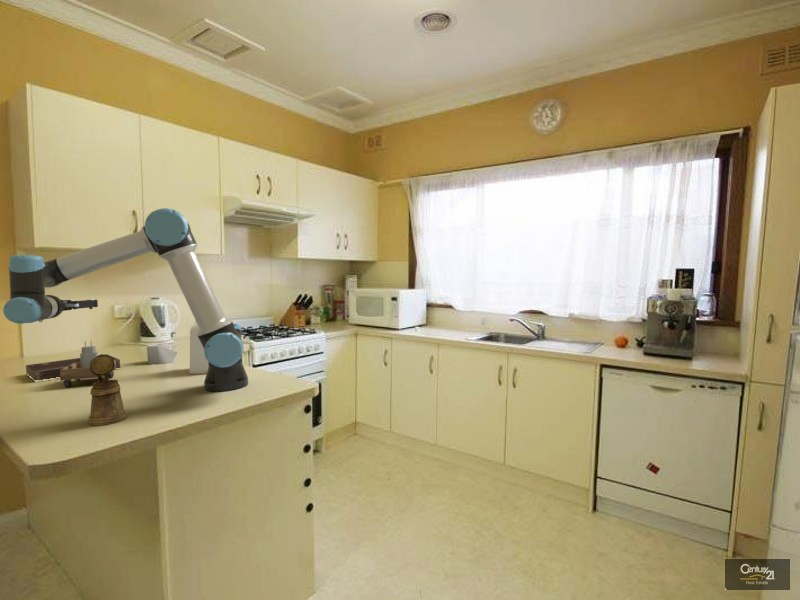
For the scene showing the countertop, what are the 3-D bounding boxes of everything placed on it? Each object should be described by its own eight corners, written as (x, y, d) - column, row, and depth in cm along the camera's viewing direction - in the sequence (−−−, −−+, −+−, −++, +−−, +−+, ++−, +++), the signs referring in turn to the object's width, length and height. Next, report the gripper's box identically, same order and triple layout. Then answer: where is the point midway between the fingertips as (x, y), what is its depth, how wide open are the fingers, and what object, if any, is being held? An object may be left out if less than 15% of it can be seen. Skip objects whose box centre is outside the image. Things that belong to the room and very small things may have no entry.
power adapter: (81, 371, 163) (79, 340, 162) (98, 369, 166) (96, 339, 165) (81, 372, 160) (79, 341, 159) (98, 370, 163) (96, 340, 163)
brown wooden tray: (35, 383, 164) (34, 371, 164) (26, 376, 176) (25, 365, 176) (120, 369, 187) (119, 358, 186) (107, 364, 199) (106, 354, 198)
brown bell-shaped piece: (122, 409, 129) (119, 351, 128) (128, 420, 119) (124, 358, 118) (87, 415, 123) (83, 356, 122) (90, 428, 113) (85, 363, 112)
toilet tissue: (175, 363, 197) (174, 345, 196) (144, 365, 194) (143, 346, 193) (181, 359, 205) (180, 342, 205) (151, 361, 202) (150, 343, 202)
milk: (230, 367, 186) (227, 309, 184) (216, 373, 174) (213, 311, 173) (205, 367, 187) (202, 309, 185) (189, 373, 175) (186, 312, 174)
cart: (105, 384, 159) (104, 366, 159) (61, 388, 154) (59, 370, 154) (116, 376, 172) (115, 359, 172) (76, 379, 167) (74, 362, 167)
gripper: (-6, 321, 125) (29, 315, 145) (92, 317, 134) (113, 311, 154) (-8, 296, 125) (27, 293, 145) (91, 293, 133) (111, 291, 153)
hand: (71, 303), depth 149 cm, fingers open, 13 cm apart
